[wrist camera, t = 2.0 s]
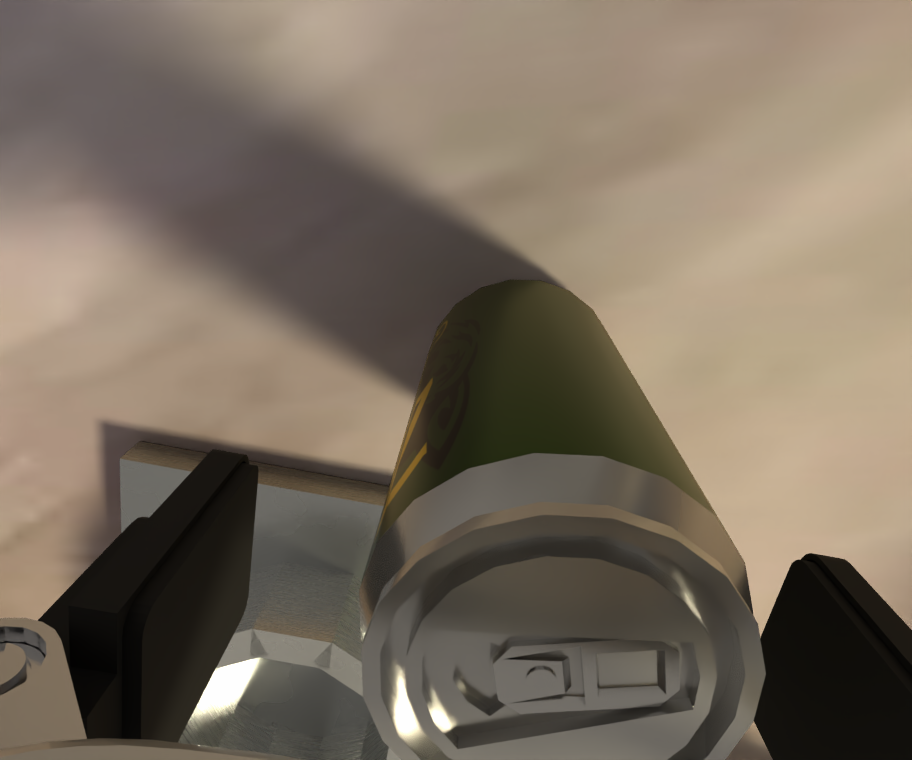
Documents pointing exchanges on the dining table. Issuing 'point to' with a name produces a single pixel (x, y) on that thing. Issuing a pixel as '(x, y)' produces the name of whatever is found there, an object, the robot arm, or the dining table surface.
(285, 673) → the rosette base
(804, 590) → the robot arm
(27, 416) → the dining table surface
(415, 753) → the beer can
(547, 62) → the dining table surface
